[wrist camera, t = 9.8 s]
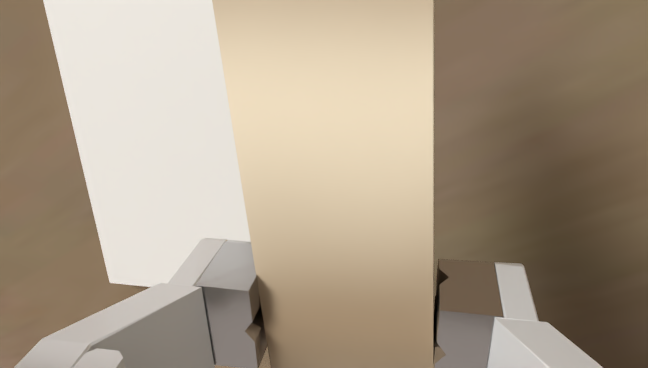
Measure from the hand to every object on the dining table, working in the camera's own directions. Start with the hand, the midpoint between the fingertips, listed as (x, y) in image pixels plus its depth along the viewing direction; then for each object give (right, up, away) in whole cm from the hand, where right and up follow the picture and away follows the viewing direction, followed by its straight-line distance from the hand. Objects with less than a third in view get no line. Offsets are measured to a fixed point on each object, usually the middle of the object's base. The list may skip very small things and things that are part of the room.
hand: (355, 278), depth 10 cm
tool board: (-8, +8, +13) cm, 17 cm away
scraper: (+1, -1, +2) cm, 3 cm away
